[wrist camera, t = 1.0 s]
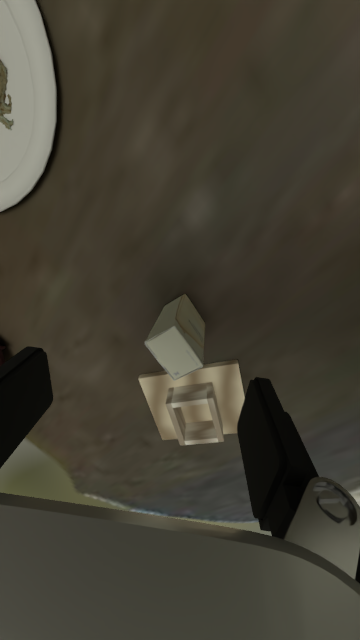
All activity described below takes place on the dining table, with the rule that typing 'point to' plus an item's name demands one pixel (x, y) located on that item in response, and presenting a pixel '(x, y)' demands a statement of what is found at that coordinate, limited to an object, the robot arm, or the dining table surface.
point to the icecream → (0, 356)
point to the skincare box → (178, 338)
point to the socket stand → (196, 402)
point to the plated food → (24, 99)
